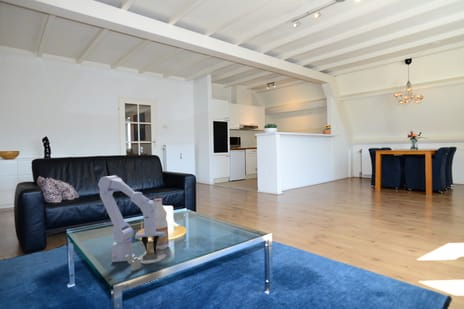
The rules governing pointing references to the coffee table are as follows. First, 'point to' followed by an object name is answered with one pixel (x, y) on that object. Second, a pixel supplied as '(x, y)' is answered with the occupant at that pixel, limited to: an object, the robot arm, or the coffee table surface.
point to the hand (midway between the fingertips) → (151, 251)
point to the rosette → (152, 257)
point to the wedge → (150, 247)
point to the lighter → (134, 262)
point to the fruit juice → (161, 225)
